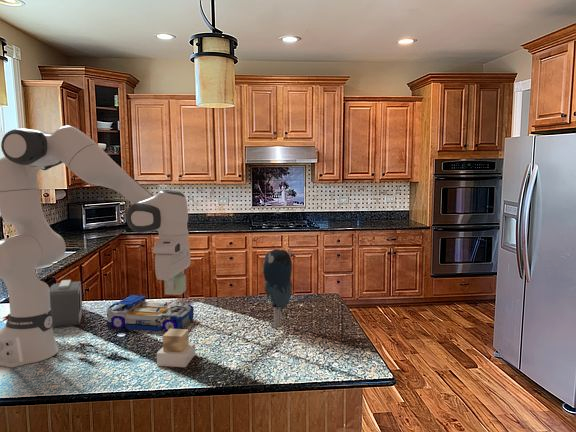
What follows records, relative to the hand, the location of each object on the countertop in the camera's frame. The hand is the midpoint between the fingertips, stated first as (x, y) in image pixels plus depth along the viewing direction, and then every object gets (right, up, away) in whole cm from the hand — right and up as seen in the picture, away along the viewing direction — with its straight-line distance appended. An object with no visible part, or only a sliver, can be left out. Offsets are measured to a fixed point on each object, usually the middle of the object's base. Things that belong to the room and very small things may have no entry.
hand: (175, 287), depth 133 cm
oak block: (0, -19, +2) cm, 19 cm away
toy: (+31, -21, +32) cm, 49 cm away
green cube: (0, -2, 0) cm, 2 cm away
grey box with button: (-53, -20, +36) cm, 67 cm away
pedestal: (0, -23, +2) cm, 23 cm away
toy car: (-19, -20, +35) cm, 44 cm away
